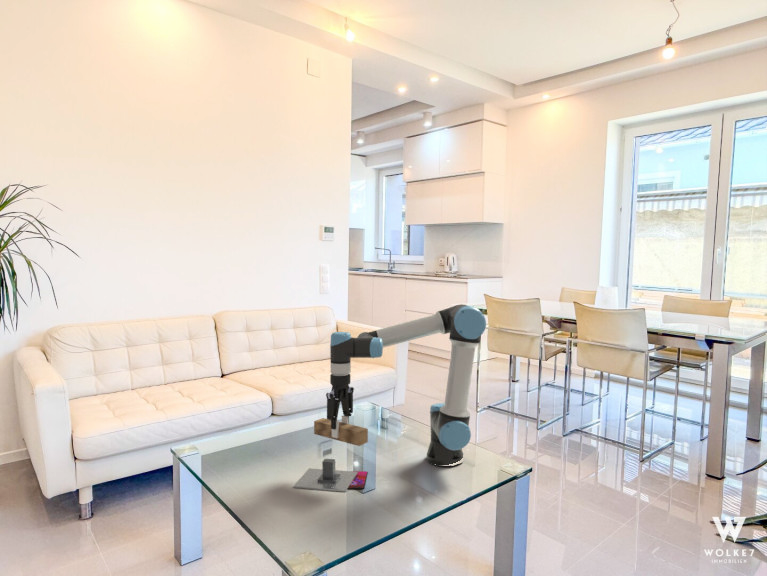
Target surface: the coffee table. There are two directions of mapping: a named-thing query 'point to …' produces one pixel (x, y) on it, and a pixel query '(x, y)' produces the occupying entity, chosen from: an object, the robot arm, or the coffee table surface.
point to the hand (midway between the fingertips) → (340, 435)
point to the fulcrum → (326, 478)
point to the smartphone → (358, 481)
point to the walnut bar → (342, 432)
